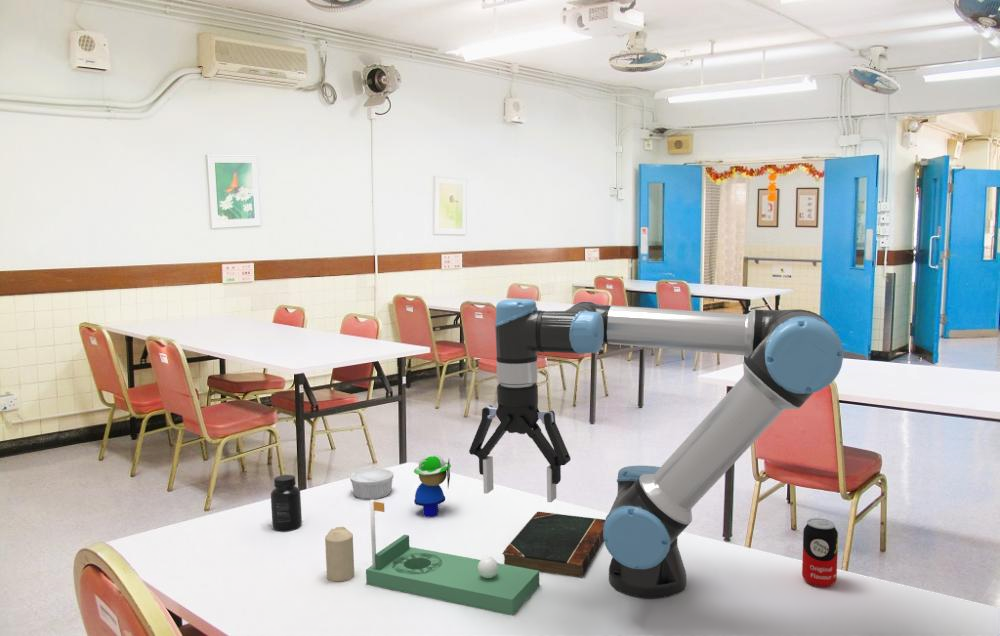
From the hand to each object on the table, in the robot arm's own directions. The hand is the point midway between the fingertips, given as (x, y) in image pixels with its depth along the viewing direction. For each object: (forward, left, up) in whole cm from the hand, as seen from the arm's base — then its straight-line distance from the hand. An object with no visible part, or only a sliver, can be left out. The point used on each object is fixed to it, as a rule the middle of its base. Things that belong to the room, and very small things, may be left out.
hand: (519, 495), depth 150 cm
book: (+2, -24, -21) cm, 32 cm away
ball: (+7, 0, -15) cm, 17 cm away
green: (+15, 0, -20) cm, 25 cm away
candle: (+38, +6, -21) cm, 43 cm away
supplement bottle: (+66, -11, -21) cm, 70 cm away
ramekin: (+60, -38, -21) cm, 74 cm away
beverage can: (-51, -29, -21) cm, 62 cm away
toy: (+38, -32, -21) cm, 54 cm away
